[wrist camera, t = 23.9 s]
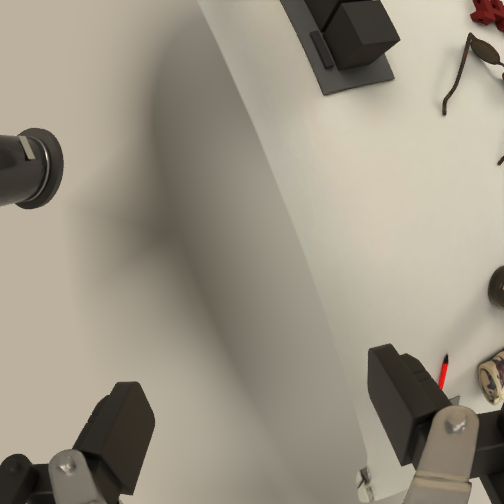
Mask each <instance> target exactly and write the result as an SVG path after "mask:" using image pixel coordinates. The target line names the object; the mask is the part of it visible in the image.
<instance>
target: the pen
mask: <svg viewBox="0 0 504 504" xmlns="http://www.w3.org/2000/svg"><path fill="white" fill-rule="evenodd" d="M447 367H448V354H447V355H446V358H445V360H444V362H443V367H442V372H441V377H440V381H439V387H440V389H441V390H442V388H443V384H444V380H445V376H446V371H447Z"/></svg>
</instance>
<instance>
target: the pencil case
mask: <svg viewBox="0 0 504 504" xmlns="http://www.w3.org/2000/svg"><path fill="white" fill-rule="evenodd" d="M478 373H479V382H480V386H481V390H482V392H483V394H484V396H485V398H486V399H487V401H488V402H489V403H491V404H493V405H496V404H498V403H499V402H500V401H502V400H503V399H504V350H503V351H502V352H500V353H498V354H497V355H496V356H495V357H493V358H492V359H491V360H490V361H487V362H485V363H482V364H481V365H480V366H479V368H478Z"/></svg>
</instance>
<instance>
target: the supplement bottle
mask: <svg viewBox="0 0 504 504" xmlns="http://www.w3.org/2000/svg"><path fill="white" fill-rule="evenodd" d="M489 298H490V300H491V301H492V302H493V303H494V304H495V305H497V306H498V307H499V308H501V309H502V310H504V266H501V267H500V268H498V269H497V270H496V272H495V273H494V274H493V276H492V278H491V281H490V284H489Z"/></svg>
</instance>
